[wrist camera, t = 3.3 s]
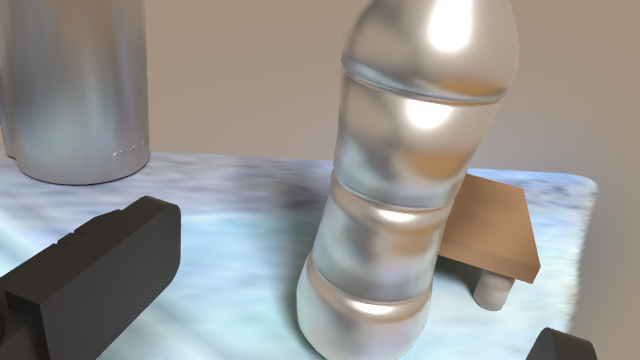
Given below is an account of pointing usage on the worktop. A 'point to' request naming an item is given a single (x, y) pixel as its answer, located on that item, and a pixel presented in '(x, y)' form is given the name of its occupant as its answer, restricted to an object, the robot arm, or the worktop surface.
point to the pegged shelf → (491, 237)
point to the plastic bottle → (400, 166)
